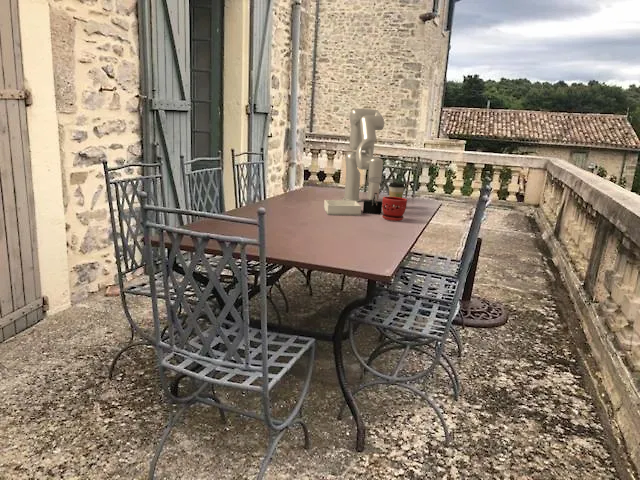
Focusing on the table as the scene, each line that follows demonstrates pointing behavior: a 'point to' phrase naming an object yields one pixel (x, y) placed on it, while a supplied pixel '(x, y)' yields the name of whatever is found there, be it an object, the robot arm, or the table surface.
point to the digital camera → (368, 207)
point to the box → (342, 207)
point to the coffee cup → (396, 190)
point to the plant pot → (393, 208)
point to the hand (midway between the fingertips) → (372, 210)
